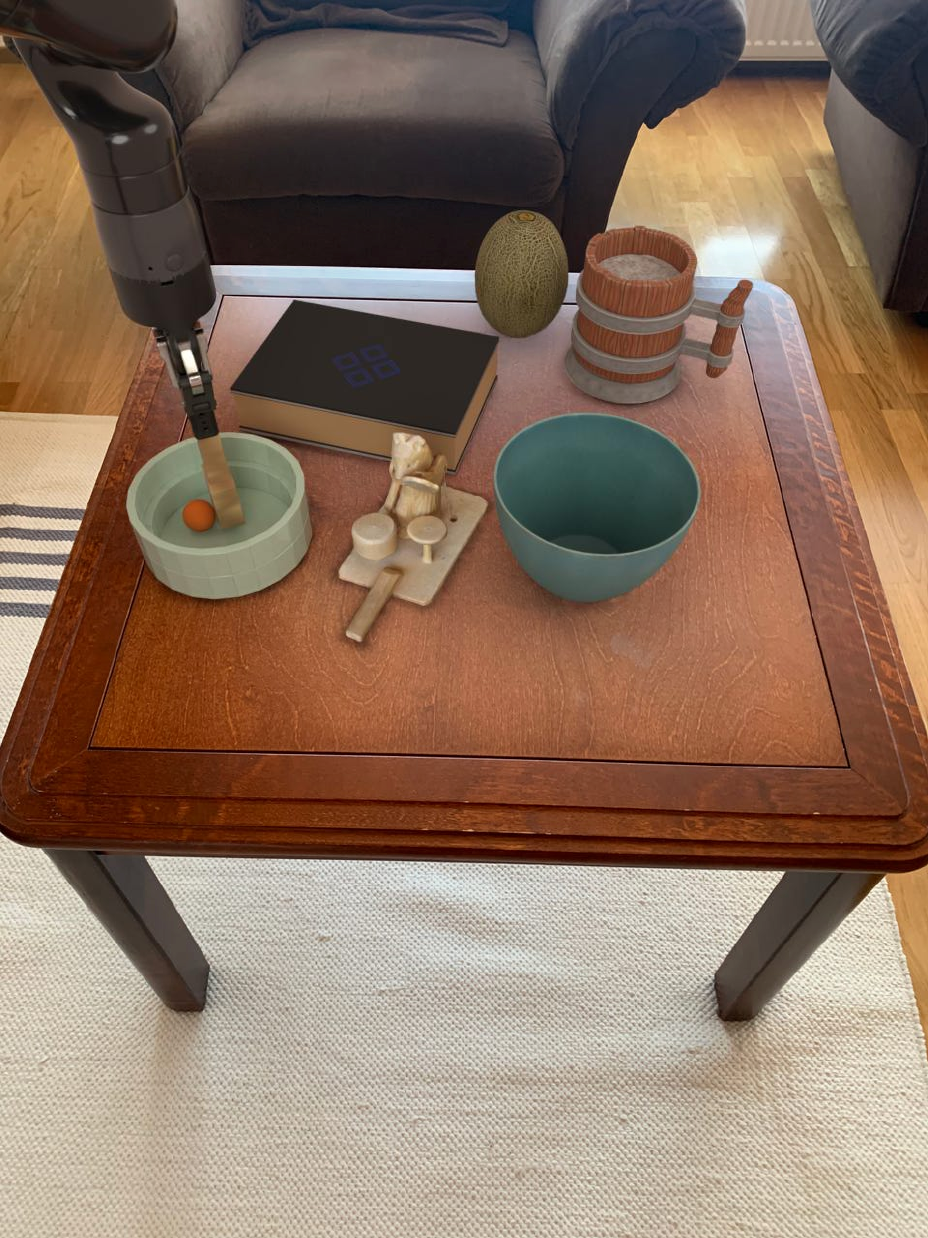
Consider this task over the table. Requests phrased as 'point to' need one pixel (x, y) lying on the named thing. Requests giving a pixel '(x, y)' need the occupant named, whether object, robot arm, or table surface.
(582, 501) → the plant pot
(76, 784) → the table surface
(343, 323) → the book
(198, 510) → the ball
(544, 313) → the fruit
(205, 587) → the bowl
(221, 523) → the stick
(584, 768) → the table surface
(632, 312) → the mug
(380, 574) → the wooden toy
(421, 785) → the table surface
